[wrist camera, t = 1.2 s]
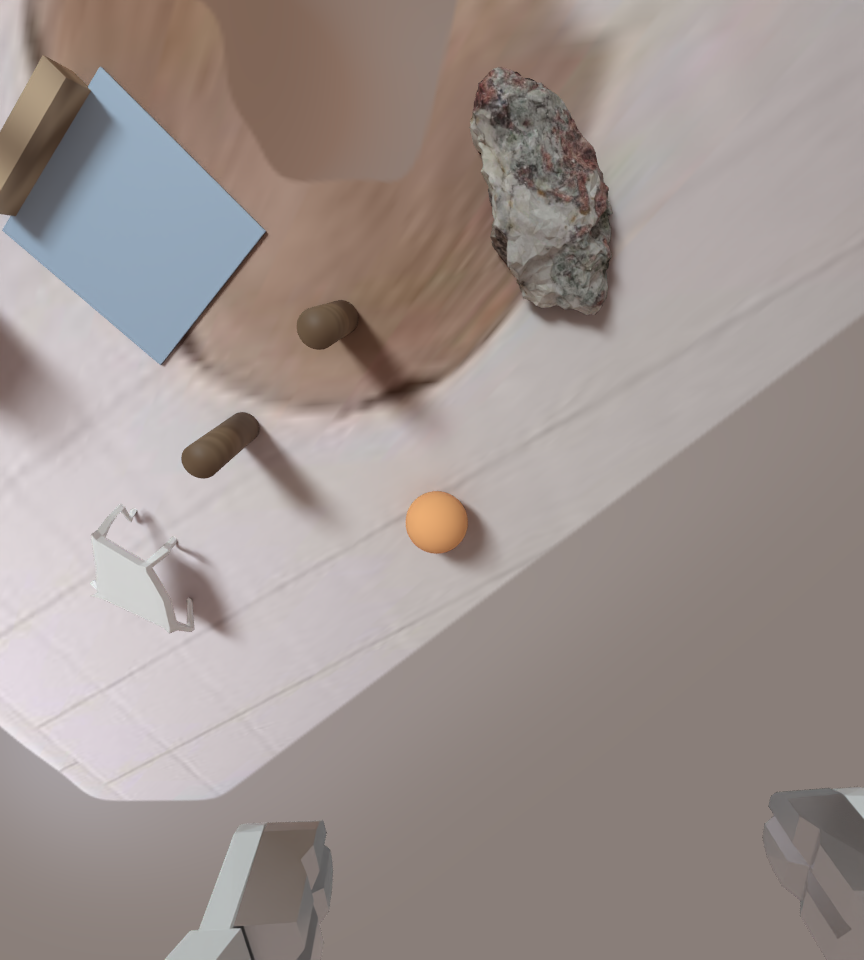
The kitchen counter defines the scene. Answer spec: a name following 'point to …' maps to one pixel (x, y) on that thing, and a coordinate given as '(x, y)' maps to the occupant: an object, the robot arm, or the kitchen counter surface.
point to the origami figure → (134, 579)
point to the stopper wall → (36, 129)
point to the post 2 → (326, 324)
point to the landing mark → (133, 221)
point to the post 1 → (219, 445)
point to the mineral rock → (542, 193)
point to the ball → (436, 522)
